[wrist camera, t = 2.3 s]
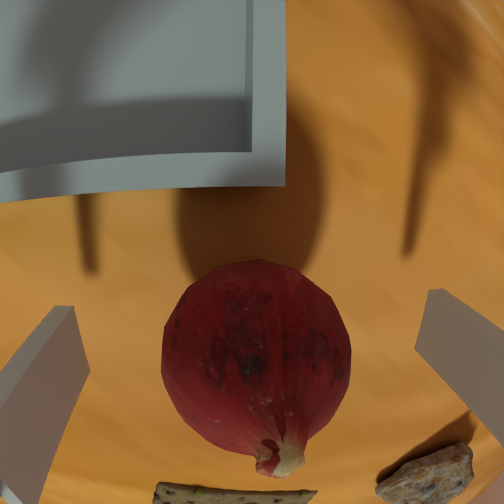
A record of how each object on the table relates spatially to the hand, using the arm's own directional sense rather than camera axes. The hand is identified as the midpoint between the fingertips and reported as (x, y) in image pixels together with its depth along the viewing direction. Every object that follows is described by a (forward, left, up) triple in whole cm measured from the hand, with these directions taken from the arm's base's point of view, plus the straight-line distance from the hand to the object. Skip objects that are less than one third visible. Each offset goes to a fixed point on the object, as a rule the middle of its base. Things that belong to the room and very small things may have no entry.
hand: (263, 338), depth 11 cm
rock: (+16, -19, -3) cm, 25 cm away
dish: (-8, +14, -3) cm, 17 cm away
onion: (0, 0, -3) cm, 3 cm away
